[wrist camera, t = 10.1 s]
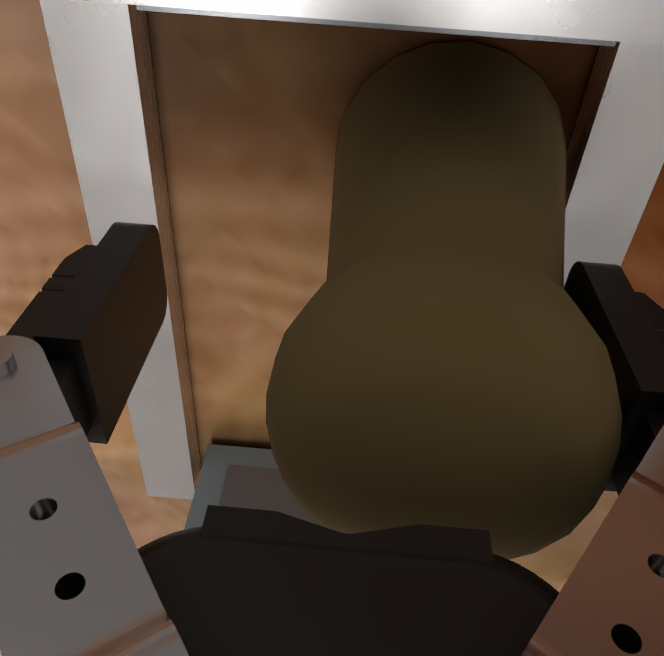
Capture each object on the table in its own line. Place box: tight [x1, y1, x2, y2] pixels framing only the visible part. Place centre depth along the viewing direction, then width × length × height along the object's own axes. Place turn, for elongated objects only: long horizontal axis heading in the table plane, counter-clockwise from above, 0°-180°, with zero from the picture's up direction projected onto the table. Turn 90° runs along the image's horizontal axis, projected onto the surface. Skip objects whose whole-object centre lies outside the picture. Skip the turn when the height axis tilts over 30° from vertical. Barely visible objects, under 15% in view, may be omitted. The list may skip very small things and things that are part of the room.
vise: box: [40, 0, 664, 500], centre depth 17 cm, size 15×22×6 cm, turn 177°
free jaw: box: [184, 444, 324, 530], centre depth 23 cm, size 10×3×6 cm, turn 87°
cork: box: [266, 42, 622, 560], centre depth 12 cm, size 6×6×11 cm
